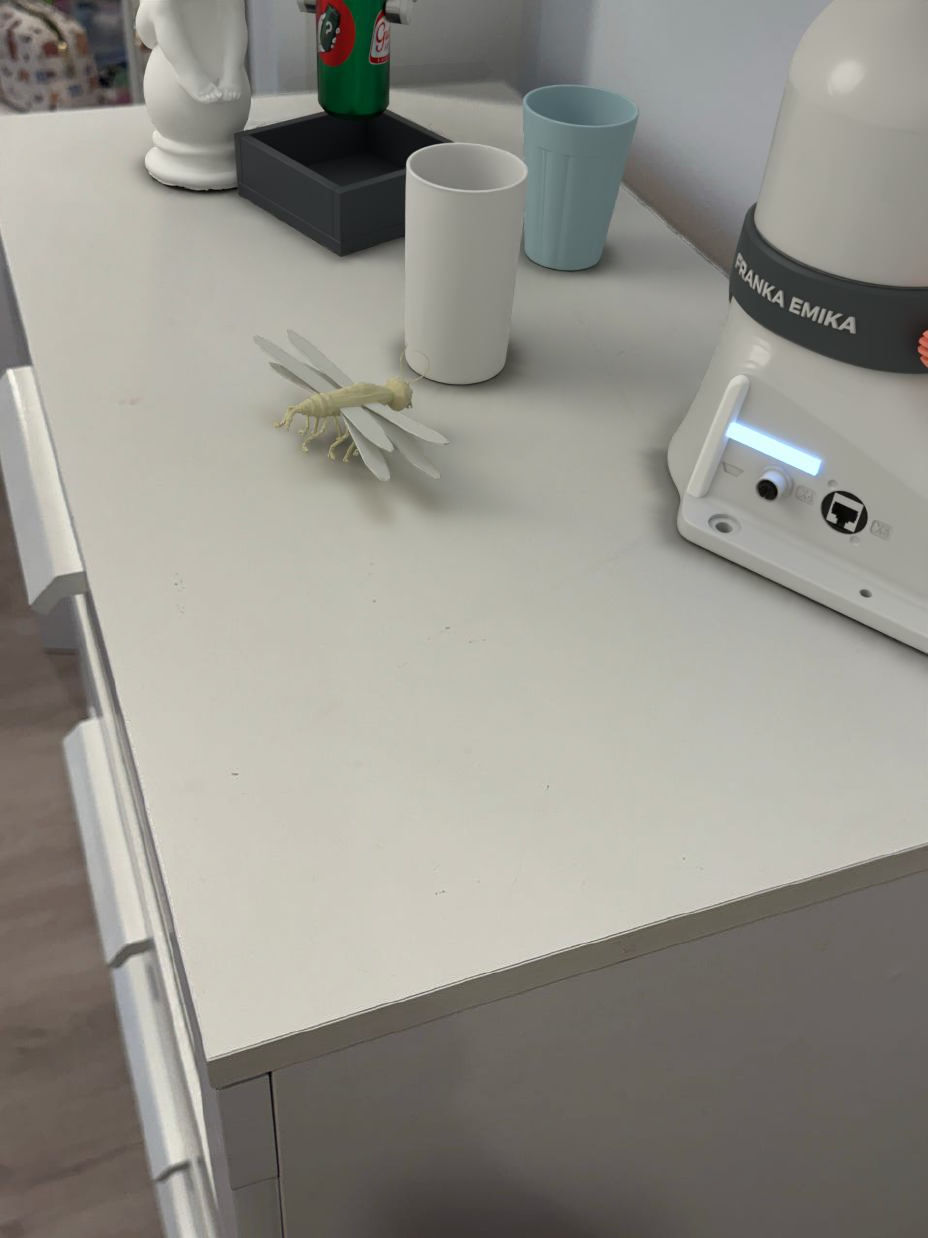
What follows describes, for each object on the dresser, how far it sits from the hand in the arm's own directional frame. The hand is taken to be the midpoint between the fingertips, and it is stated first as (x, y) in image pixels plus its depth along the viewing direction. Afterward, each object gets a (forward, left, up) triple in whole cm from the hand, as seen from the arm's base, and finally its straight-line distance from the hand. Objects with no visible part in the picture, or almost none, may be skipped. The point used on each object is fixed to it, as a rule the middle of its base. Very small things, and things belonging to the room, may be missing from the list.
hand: (353, 14), depth 79 cm
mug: (-20, +7, -13) cm, 25 cm away
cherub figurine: (+13, +6, -14) cm, 20 cm away
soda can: (+1, 0, -7) cm, 7 cm away
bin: (0, -1, -13) cm, 13 cm away
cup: (-15, -8, -13) cm, 21 cm away
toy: (-25, +19, -13) cm, 34 cm away
